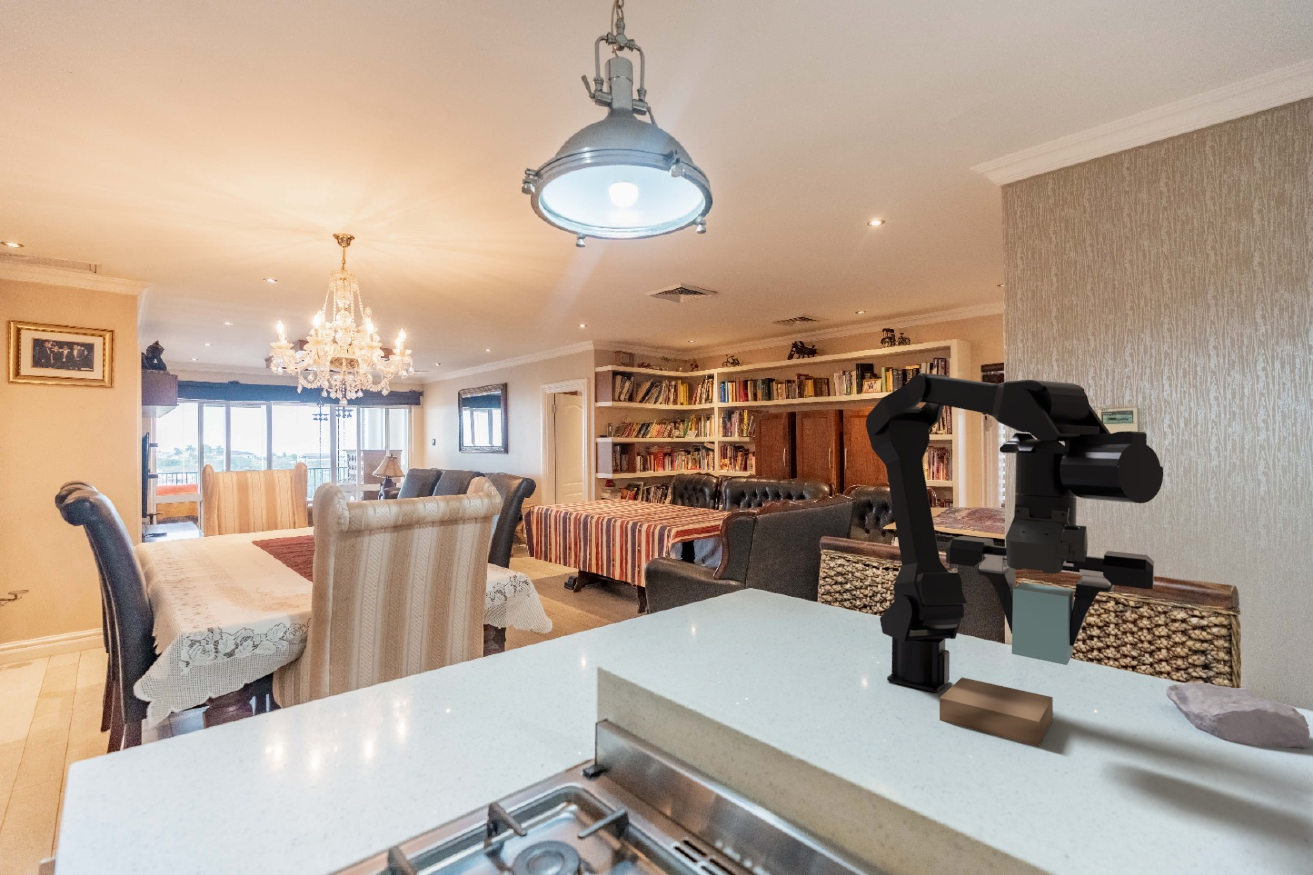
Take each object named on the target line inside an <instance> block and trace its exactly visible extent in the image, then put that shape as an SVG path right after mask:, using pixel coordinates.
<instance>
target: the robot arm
mask: <svg viewBox="0 0 1313 875" xmlns="http://www.w3.org/2000/svg"><path fill="white" fill-rule="evenodd" d="M1089 402H1090V401H1089V397H1088V395H1087V394H1086V392H1085V388H1084V387H1082V386H1081V385H1080V384H1077V383H1076V384H1075V383H1072V382H1060V381H1050V380H1049V381H1048V380H1037V379H1021V380H1010V381H1004V382H1000V383H994V382H993V383H992V382H986V381H978V380H971V379H965V378H964V379H963V378H958V377H950V376H948V375H946V374H938V373H928V372H927V373H925V372H922V373H918V374H915V375H913V376H912V377H911V378H910V379H909V380H908V381H907V382H906V383H905V384H904V385H903V386H901V387H899V388H897V389H896V390H894V391H892V392H891V393H888V394H887V395H885V396H884V397H882V398H881V399H880V401H879V402H878V403H877V404H876V405H875V406H874V407H873V408H872V409H871V411H870V412H869V413H868V415H867V416H866V420H865V428H866V432H867V433H866V434H867V437H868V439H869V443H870V446H871V449H872V451H874V453H875V454H876V456H877V457H878V458H879V460H880V461H881V462H882V463H883V464H884V466H885V468H886V474H887V480H888V487H889V492H890V493H889V494H890V499H891V506H892V513H893V517H894V524H895V529H896V535H897V540H898V541H897V542H898V548H899V554H900V560H901V566H900V568H899V571H898V572H897V573H898V574H897V576H896V578H895V580H894V583H893V598H894V600H893V602H892V603H891V604H890V605H889V607H887V608H886V610H885V611H884V612H883V614H882V615H880V616H879V622H880V626H881V633H882V634H883V635H886V636H888V637H890V638H891V674H889V675H887V677H886V680H887V681H888V682H891V683H896V684H898V685H903V686H908V687H910V688H911V687H912V688H915V689H920V690H924V691H929V692H931V693H932V692H933V693H937V692H939V691H940V690H941V689H942V688H943V687H944V686H945V685H946V684H947V683H949V681H950V657H951V656H950V653H951V652H950V651H949V650H948V649H946V640H948V639H950V640H955V639H956V638H957V635H958V632H959V629H960V625H961V623H962V620H963V619H964V617H965V606H964V605H966V604H967V600H966V598H965V595H964V592H963V587H962V586H963V585H962V577H961V575H960V573H959V572H950V571H949V570H948V569H947V568H946V566H945V565H944V564H943V563H942V560H941V557H940V551H939V546H938V541H937V535H936V530H935V524H934V519H933V513H932V508H931V503H930V498H929V491H928V487H927V482H926V475H925V470H924V465H923V460H924V458H925V455H926V453H927V450H928V448H929V445H930V443H931V438H930V430H932V429H933V428H934V427H935V425H936V424H938V423H939V422H940V420H941V418H942V414H943V409H944V407H945V406H946V407H951V408H955V409H961V410H964V411H965V410H966V411H972V412H976V413H981V414H982V413H983V414H986V415H988V416H991V417H993V418H994V419H995V420H996V422H998V423H999V424H1002V425H1004V426H1006V427H1008V428H1011V429H1013V430H1015V431H1017V432H1015V433H1014V434H1013V435H1012V437H1011V438H1010V439H1009V440H1006V441H1005V443H1003V444H1002V445H1001V446H1000V447H999V452H1000V453H1001V454H1015V479H1014V481H1015V482H1014V483H1015V484H1014V485H1015V486H1014V513H1013V516H1014V517H1013V518H1012V521H1011V523H1010V526H1009V529H1008V531H1007V533H1006V535H1005V546H1000V545H999V546H998V545H995V544H994V543H995V542H994V539H993V538H985V537H977V536H965V535H961V536H957V537H954V538H952V539H950V540H949V541H948V542H947V543H946V547H945V548H946V549H945V563H947V564H951V565H958V566H965V567H966V566H967V567H977V566H978V565H979V566H978V568H977V569H976V574H977V575H979V576H984V577H986V578H987V580H989V582H990V583H991V585H992V587H993V588H994V591H995V592H996V595H997V596H998V599H999V602H1000V604H1001V608H1002V610H1003V614H1004V616H1005V619H1006V622H1007V625H1008V628H1009V631H1010V634H1011V635H1012V619H1013V588H1015V587H1016V586H1017V579H1016V577H1017V576H1016V574H1017V573H1016V570H1019V571H1021V570H1024V569H1026V570H1032V571H1033V570H1034V571H1041V572H1043V574H1052V575H1055V574H1059V573H1061V572H1062V571H1066V572H1073V573H1079V577H1080V579H1079V580H1078V581H1077V582H1076V584H1075V589H1074V605H1073V611H1072V617H1071V623H1070V646H1073V647H1074V646H1075V644H1076V642H1077V639H1078V636H1079V634H1080V632H1081V629H1082V627H1083V624H1084V621H1085V619H1086V617H1087V614H1088V612H1089V610H1090V608H1091V606H1092V604H1093V602H1094V601H1095V599H1096V597H1097V596H1098V594H1099V593H1111V592H1112V591H1113V590H1114V588H1115V586H1118V587H1126V588H1132V589H1133V588H1134V589H1142V590H1153V589H1154V584H1155V582H1154V581H1155V560H1153V559H1152V558H1151V557H1150V556H1149V555H1148V554H1140V553H1131V552H1122V551H1121V552H1120V551H1111V550H1106V551H1105V553H1104V554H1103V557H1100V556H1091V555H1088V549H1089V548H1088V530H1087V526H1086V525H1077V504H1078V502H1077V500H1078V498H1080V499H1085V500H1095V501H1097V500H1098V501H1105V502H1107V501H1108V502H1120V503H1130V504H1146V503H1149V502H1151V501H1152V500H1153V499H1154V498H1155V497H1156V496H1157V495H1158V493H1159V492H1160V490H1161V487H1162V485H1163V480H1164V467H1163V466H1162V465H1161V463H1160V460H1159V457H1158V455H1157V453H1156V451H1155V450H1154V449H1153V448H1152V447H1151V446H1150V445H1148V444H1147V443H1148V442H1147V440H1148V439H1147V438H1148V437H1147V436H1148V435H1147V433H1146V432H1144V431H1133V430H1132V431H1131V430H1130V431H1129V430H1126V431H1116V432H1112V433H1111V432H1110V430H1109V429H1108V428H1107V425H1105V424H1104V423H1103V421H1102V419H1101V418H1100V417H1099V415H1098V414H1097V412H1096V411H1095V410H1094V409H1093V407H1092V406H1091V405H1090V403H1089ZM919 403H924V404H923V405H922V406H921V407H919V406H918V405H919ZM1062 442H1063V443H1064V444H1063V443H1062Z"/></svg>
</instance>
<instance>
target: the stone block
mask: <svg viewBox="0 0 1313 875" xmlns="http://www.w3.org/2000/svg"><path fill="white" fill-rule="evenodd" d="M1165 695H1166V696H1167V698H1168V699H1169V700H1170V701H1172V703H1173V705H1175V707H1176V708H1177V709H1178V710H1179V711H1180V712H1181V714H1183V715H1184V717H1185V719H1186V720H1187V721H1188V722H1189V723H1190V724H1192V725H1193V726H1194V727H1195V728H1196V729H1197V730H1200V731H1201V732H1204V733H1206V734H1208V735H1211V736H1213V737H1216V738H1218V739H1220V740H1224V741H1228V742H1231V743H1239V744H1245V745H1253V746H1264V747H1265V746H1266V747H1270V746H1274V747H1282V748H1297V749H1305V750H1306V749H1308V748H1309V745H1310V739H1309V738H1310V735H1311V733H1310V729H1309V724H1308V722H1307V720H1306V717H1305V715H1304V714H1303V713H1301V712H1300V711H1298V710H1297V709H1296V708H1295V707H1294V706H1291V705H1289V704H1284V703H1281V702H1278V701H1270V700H1267V699H1266V700H1265V699H1263V698H1260V697H1259V696H1256V694H1254V692H1253V691H1252V690H1251V689H1249V688H1245V687H1238V688H1237V687H1230V686H1221V685H1217V684H1213V683H1209V682H1207V683H1206V682H1199V681H1197V682H1191V681H1187V682H1183V683H1178V684H1172V685H1168V686H1167V688H1166V694H1165Z"/></svg>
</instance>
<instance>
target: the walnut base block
mask: <svg viewBox="0 0 1313 875" xmlns="http://www.w3.org/2000/svg"><path fill="white" fill-rule="evenodd" d="M1053 701H1054V700H1053V697H1052V696H1049V695H1044V694H1041V693H1040V694H1039V693H1035V692H1031V691H1027V690H1021V689H1017V688H1013V687H1009V686H1004V685H999V684H994V683H990V682H985V681H981V680H976V679H971V678H966V677H963V676H961V677H960V679H958V680H957V681H956V682H955V683H954V684H953V685H952V686H951V687H949V689H947V690H946V691H945V692H944V693H943V694H942V695H941V696H939V721H941V722H945V723H950V724H953V725H956V726H959V727H960V726H961V727H965V728H968V729H972V730H975V731H979V732H982V733H987V734H989V735H990V734H991V735H994V736H997V737H1001V738H1006V739H1009V740H1014V741H1016V742H1021V743H1025V744H1028V745H1030V746H1031V745H1032V746H1034V747H1035V746H1036V747H1040V745H1041V744H1042V742H1043V739H1044V737H1045V735H1046V733H1047V731H1048V729H1049V727H1050V726H1051V723H1052V721H1053V719H1054V717H1053V716H1054V713H1053V708H1054V707H1053V705H1054V704H1053Z"/></svg>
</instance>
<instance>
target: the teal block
mask: <svg viewBox="0 0 1313 875" xmlns="http://www.w3.org/2000/svg"><path fill="white" fill-rule="evenodd" d="M1074 599H1075V589H1072V588H1066V587H1065V588H1063V587H1058V586H1050V585H1043V584H1036V583H1029V582H1020V583H1019V584H1018V585H1017V584H1016V587H1015V588H1013V619H1012V634H1011V655H1015V656H1020V657H1026V658H1030V659H1035V660H1040V661H1044V662H1045V661H1046V662H1051V663H1053V664H1054V663H1055V664H1060V665H1063V666H1065V665H1066V666H1067V665H1068V664H1069V662H1070V660H1071V658H1072V657H1073V650H1074V649H1073V648H1074V646H1070V623H1071V617H1072V611H1073V605H1074Z"/></svg>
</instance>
